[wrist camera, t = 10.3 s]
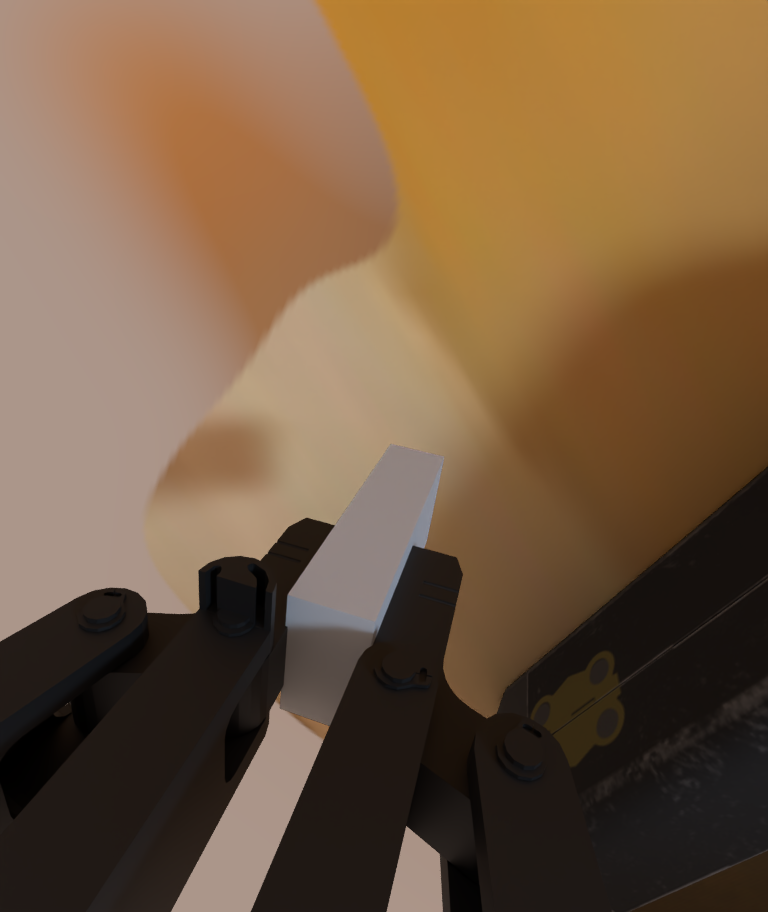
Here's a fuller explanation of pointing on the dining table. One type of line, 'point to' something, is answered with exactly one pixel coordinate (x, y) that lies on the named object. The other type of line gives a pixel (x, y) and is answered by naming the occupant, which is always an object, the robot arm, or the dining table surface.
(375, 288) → the dining table surface
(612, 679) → the cash box
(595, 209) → the dining table surface
